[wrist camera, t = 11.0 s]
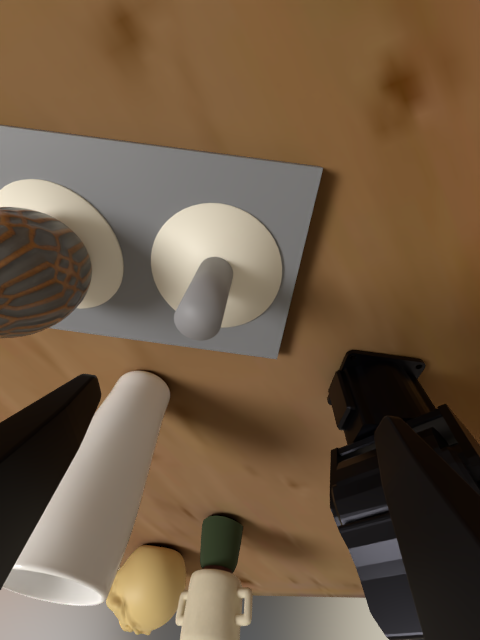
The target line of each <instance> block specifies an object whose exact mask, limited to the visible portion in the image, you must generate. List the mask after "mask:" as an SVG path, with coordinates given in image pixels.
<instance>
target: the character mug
mask: <svg viewBox="0 0 480 640" xmlns="http://www.w3.org/2000/svg"><path fill="white" fill-rule="evenodd" d="M242 531H243V526H242V525H241V524H239V523H238V522H236V521H234V520H233V519H229V518H227V517H223V516H217V515H216V516H210V517H208V518H206V519H205V520H204V521H203V524H202V534H201V552H200V563H201V567H202V568H203V569H202V570H197V571H195V572H194V573H192V576H191V579H190V584H189V589H188V590H186V591H183V592H182V593H181V595H180V598H179V603H178V609H177V614H176V624H177V625H178V626H182V630H181V636H180V640H239V638H240V626H247V625H249V624H250V623H251V619H252V590H251V589H250V588H248V587H247V588H242V585H241V581H240V579H239V578H238V577H237V576H235V575H233V574H232V573H233V572H234V570H235V568H236V566H237V562H238V556H239V551H240V545H241V539H242ZM242 598H245V606H244V614H241V611H242ZM185 605H186V607H185ZM184 611H185V612H184Z"/></svg>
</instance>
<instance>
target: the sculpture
mask: <svg viewBox="0 0 480 640" xmlns="http://www.w3.org/2000/svg"><path fill="white" fill-rule="evenodd" d="M185 585H186V568H185V563H184V559H183V557H182V555H181V554H180V553H179V552H177V551H175V550H172V549H169V548H164V547H158V546H150V545H142V546H140V547H139V548H137V549H136V550H135V551H134V552H133V553H132V554H131V555H130V557H129V558H128V559H127V561H126V562H125V563H124V565H123V566H122V567H121V568H120V569H119V570H118V571H117V574H116V577H115V579H114V582H113V584H112V587H111V589H110V592H109V595H108V598H107V599H106V604H107V606H108V608H109V609H110V610H112V611H113V612H114V614H115V616H116V617H117V618H118V619H119V624H120V626H121V628H122V629H123V630H124V631H128V632H132V631H134V632H135V633H136V634H137V635H139V634H146V635H150V633H151V631H152V630H154V629H157V628H159V627H161V626H162V625H164V624H165V623H166V622H168V621H169V620H170V619H171V618H172V616H173V615H174V614H175V612H176V611H177V609H178V603H179V598H180V595H181V593H182V592H183V591H185Z"/></svg>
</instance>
